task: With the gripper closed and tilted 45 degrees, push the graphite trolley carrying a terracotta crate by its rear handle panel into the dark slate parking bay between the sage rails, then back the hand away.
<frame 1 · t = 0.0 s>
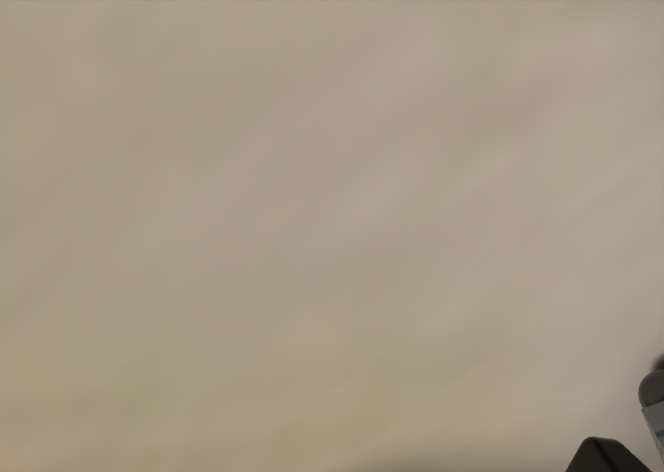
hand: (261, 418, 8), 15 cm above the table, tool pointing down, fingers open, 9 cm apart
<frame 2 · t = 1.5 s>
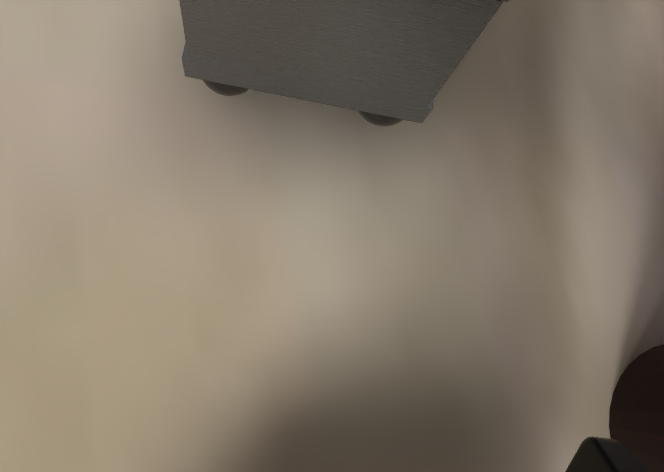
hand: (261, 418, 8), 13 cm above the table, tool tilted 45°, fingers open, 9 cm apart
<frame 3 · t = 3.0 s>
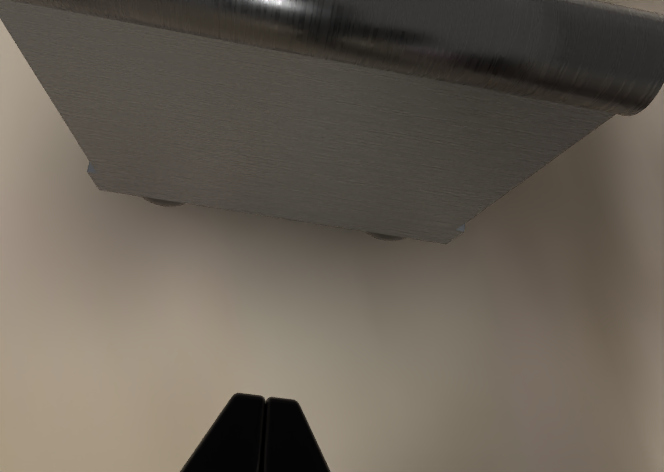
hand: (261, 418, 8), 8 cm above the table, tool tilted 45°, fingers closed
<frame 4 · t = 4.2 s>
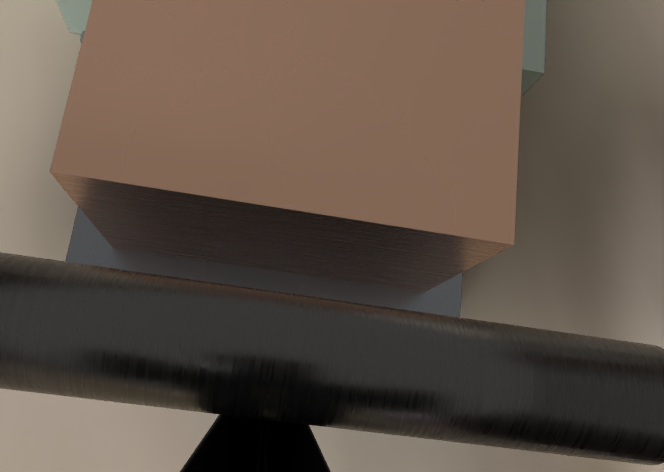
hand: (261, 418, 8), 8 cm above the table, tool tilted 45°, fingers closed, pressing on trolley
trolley: (293, 150, 12), point 6 cm above the table, slide at 0.4 cm, touching gripper
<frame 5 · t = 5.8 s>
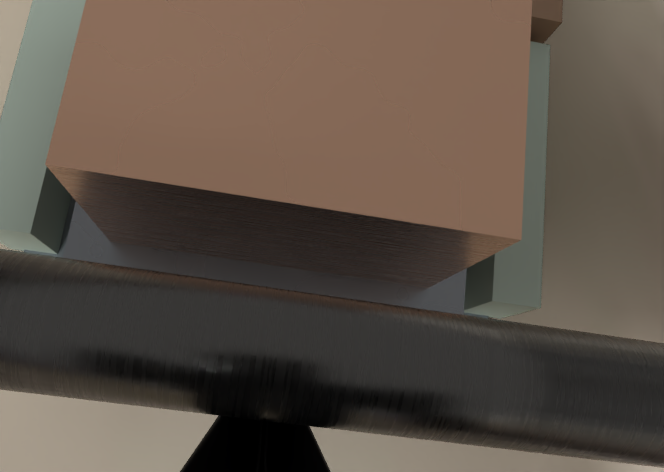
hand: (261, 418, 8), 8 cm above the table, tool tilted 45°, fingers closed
dock bay: (284, 160, 17), on the table
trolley: (294, 143, 11), point 6 cm above the table, slide at 6.8 cm
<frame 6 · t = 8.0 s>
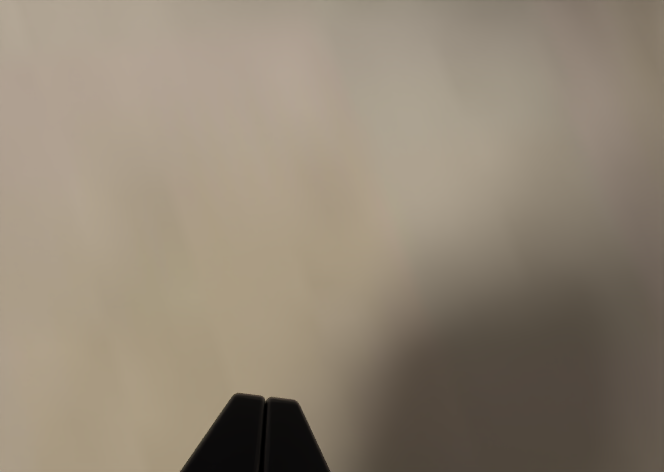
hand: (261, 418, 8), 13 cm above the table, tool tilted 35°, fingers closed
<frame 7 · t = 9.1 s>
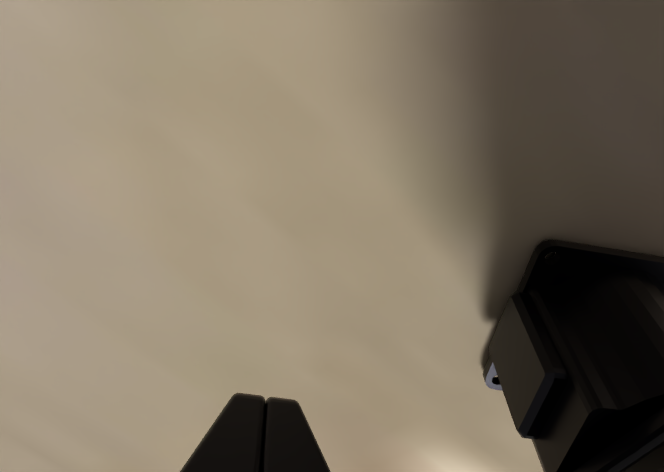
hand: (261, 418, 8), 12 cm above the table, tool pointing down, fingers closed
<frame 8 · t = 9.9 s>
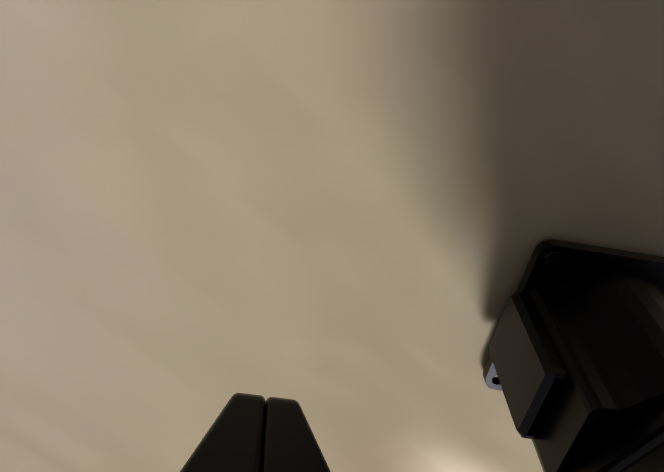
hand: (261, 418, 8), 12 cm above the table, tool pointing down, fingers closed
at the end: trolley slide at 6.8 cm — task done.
